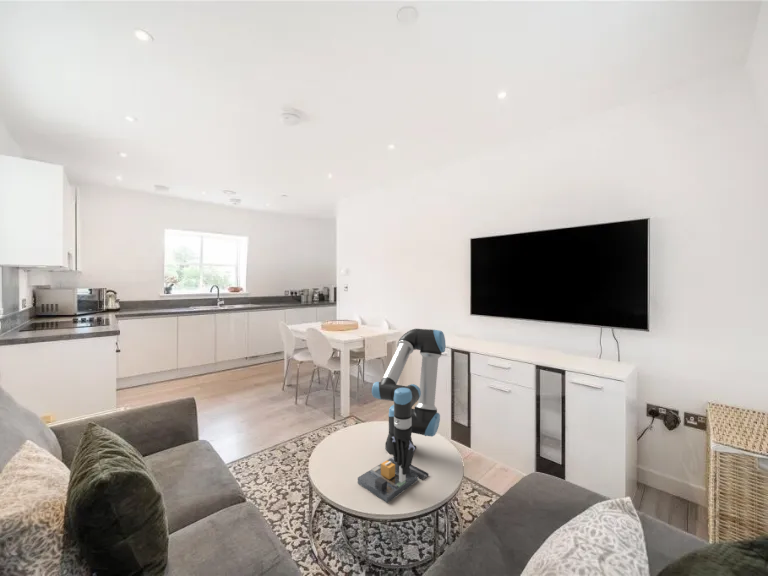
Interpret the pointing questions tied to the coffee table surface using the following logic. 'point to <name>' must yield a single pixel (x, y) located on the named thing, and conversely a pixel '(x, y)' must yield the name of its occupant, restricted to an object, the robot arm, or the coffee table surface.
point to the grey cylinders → (415, 470)
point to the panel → (390, 490)
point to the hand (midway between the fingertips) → (402, 480)
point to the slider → (388, 469)
